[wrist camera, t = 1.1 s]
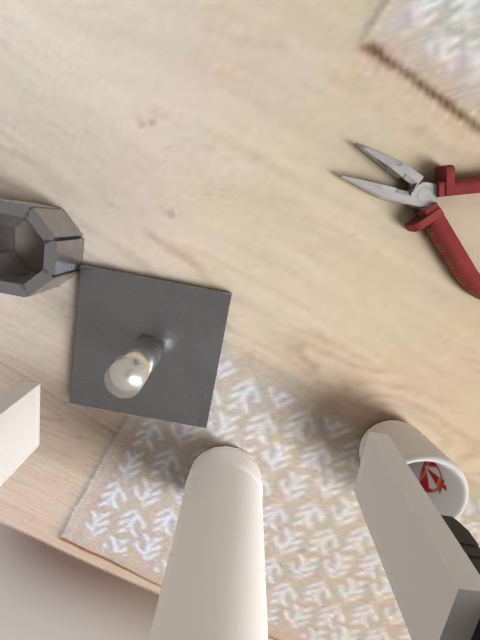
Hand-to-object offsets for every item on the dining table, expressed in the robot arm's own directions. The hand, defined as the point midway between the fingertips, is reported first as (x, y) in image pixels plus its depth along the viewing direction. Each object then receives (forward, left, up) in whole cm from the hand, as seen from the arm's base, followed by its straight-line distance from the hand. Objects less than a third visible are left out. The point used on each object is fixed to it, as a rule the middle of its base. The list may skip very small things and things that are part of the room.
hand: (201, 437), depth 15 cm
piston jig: (+5, -7, -22) cm, 24 cm away
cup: (+12, +19, -22) cm, 32 cm away
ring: (-3, -18, -22) cm, 29 cm away
